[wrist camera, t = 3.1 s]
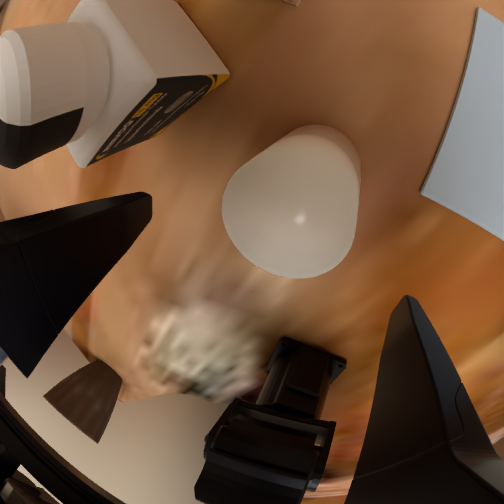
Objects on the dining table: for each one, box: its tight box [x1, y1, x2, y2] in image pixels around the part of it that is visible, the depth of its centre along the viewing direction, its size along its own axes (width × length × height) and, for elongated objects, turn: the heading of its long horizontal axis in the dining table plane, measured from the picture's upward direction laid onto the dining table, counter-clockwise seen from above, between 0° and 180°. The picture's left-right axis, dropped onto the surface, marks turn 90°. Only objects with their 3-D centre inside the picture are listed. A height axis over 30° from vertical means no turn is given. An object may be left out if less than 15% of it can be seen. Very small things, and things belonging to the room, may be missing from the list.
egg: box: [222, 124, 361, 279], centre depth 13 cm, size 5×5×7 cm
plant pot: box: [43, 360, 122, 444], centre depth 48 cm, size 15×15×16 cm
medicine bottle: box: [0, 0, 230, 169], centre depth 10 cm, size 7×7×12 cm
